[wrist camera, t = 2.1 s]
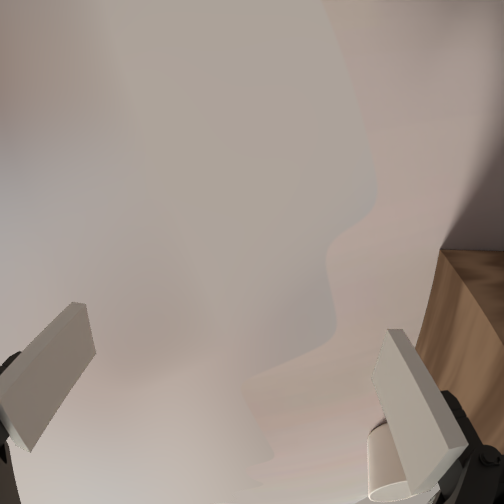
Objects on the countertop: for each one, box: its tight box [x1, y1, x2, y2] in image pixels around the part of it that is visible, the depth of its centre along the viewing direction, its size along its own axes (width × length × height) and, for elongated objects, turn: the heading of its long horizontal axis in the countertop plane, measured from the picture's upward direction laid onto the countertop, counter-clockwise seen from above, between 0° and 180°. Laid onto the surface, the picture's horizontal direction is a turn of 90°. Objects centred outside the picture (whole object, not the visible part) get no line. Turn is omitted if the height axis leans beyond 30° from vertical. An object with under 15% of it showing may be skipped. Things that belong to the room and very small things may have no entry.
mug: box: [367, 423, 417, 502], centre depth 33 cm, size 12×8×10 cm
